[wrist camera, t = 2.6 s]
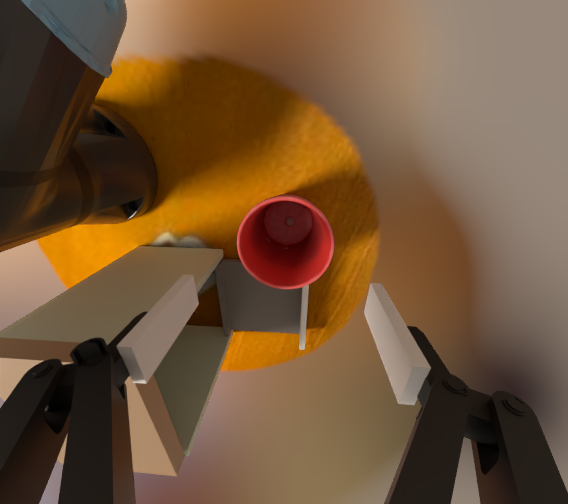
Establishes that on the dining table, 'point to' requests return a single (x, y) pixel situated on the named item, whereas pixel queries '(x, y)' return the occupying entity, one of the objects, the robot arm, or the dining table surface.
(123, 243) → the dining table surface
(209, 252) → the beige open box
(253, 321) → the tray
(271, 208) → the flower pot
